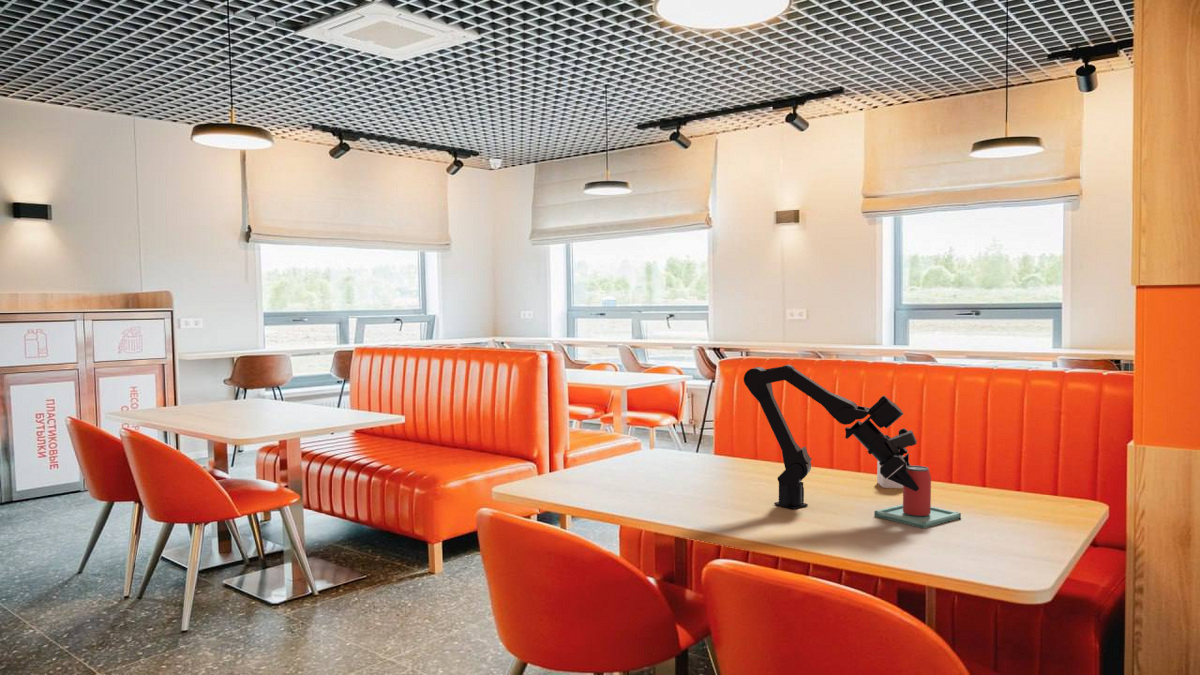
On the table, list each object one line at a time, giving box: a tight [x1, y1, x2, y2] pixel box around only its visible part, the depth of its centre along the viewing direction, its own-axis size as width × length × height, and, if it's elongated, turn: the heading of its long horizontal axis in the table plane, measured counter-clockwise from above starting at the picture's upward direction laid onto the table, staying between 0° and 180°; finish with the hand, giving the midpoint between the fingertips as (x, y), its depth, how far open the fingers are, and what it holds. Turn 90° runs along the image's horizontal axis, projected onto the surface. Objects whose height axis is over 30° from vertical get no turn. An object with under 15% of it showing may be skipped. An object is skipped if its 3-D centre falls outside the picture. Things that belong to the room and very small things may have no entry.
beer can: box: [902, 465, 932, 517], centre depth 208 cm, size 7×7×12 cm
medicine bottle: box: [876, 460, 903, 489], centre depth 245 cm, size 7×7×12 cm
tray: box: [873, 503, 962, 529], centre depth 209 cm, size 16×14×1 cm
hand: (918, 486), depth 208 cm, fingers open, 9 cm apart
